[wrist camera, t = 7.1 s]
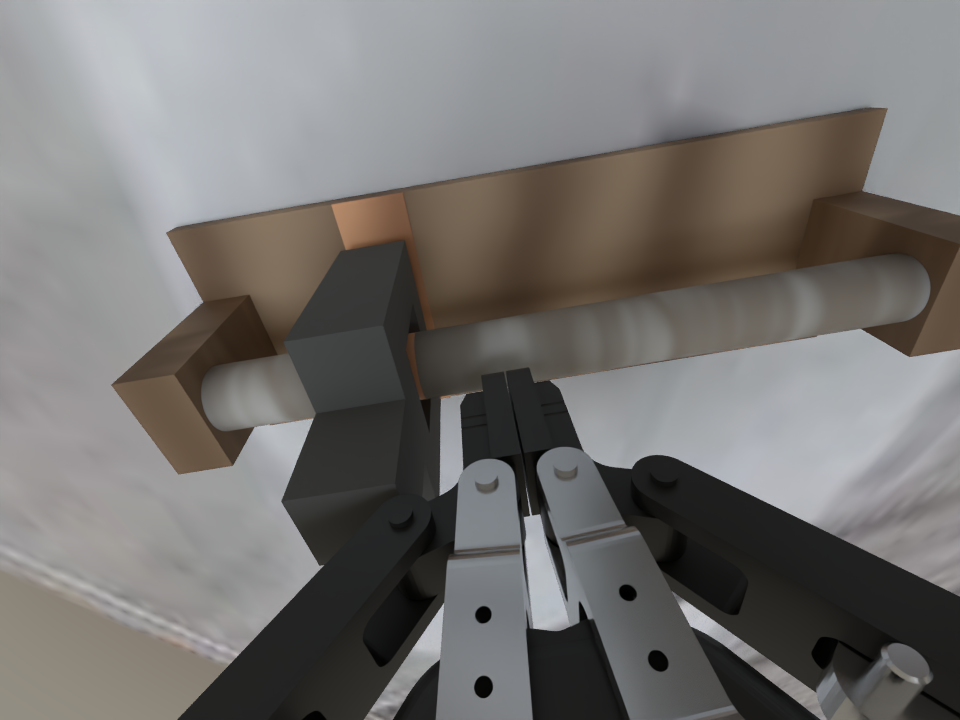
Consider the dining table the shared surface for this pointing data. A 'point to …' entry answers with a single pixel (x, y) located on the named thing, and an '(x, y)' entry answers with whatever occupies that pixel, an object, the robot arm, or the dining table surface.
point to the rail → (564, 274)
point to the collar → (360, 398)
